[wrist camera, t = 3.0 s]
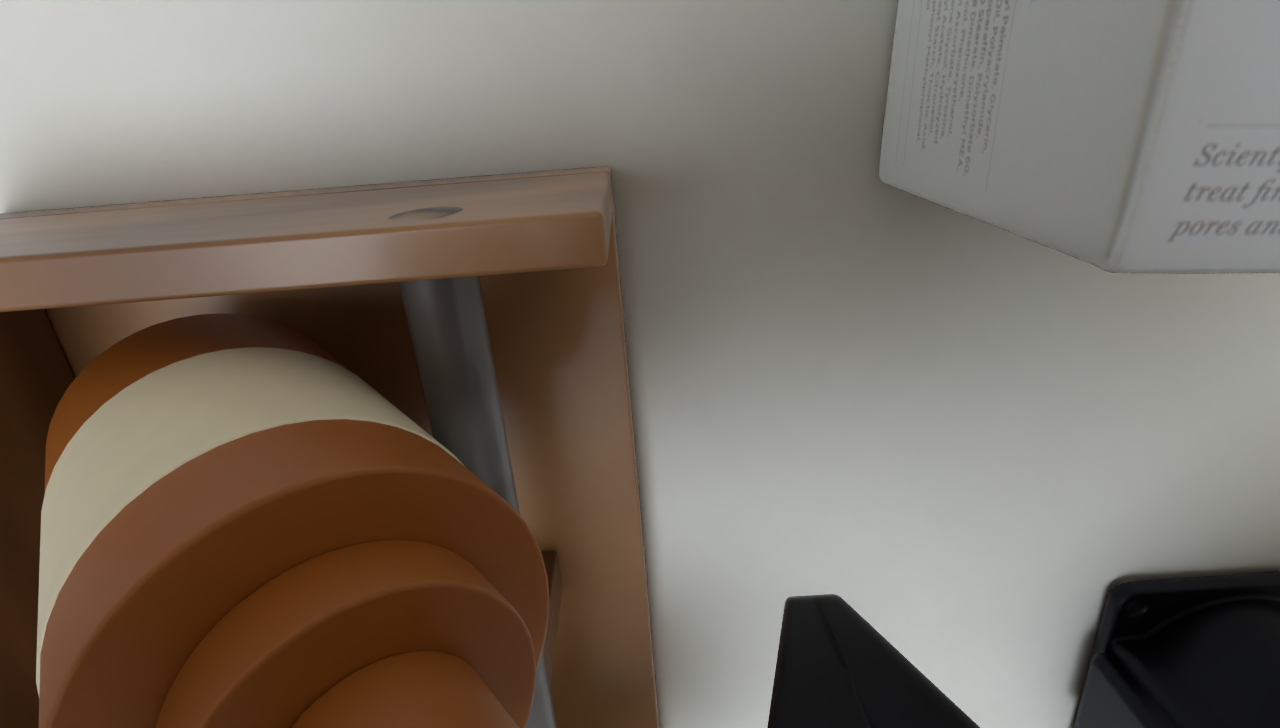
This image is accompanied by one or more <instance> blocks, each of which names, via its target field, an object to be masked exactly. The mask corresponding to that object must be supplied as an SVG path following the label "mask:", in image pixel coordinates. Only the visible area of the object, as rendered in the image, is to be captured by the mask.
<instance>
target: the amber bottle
mask: <svg viewBox="0 0 1280 728" xmlns="http://www.w3.org/2000/svg"><path fill="white" fill-rule="evenodd" d="M548 617H549V588H548V577H547V573H546V569H545V564H544V560H543V556H542V553H541V551H540V549H539V546H538V544H537V541H536V539H535V536H534V535H533V533H532V532H531V530H530V528H529V527H528V525H527V524H526V522H525V520H524V519H523V518H522V517H521V516H520V515H519V514H518V512H517V511H516V510H515V509H514V508H513V507H512V506H511V505H510V504H509V503H508V502H507V501H506V500H504V499H503V498H502V497H501V496H500V495H498V494H497V493H496V492H495V491H494V490H492V489H491V488H490V487H489V486H488V485H486V484H485V483H484V482H483V481H482V480H480V479H479V478H478V477H477V476H476V475H474V474H473V473H472V472H471V471H470V470H468V469H467V468H466V467H465V466H464V465H463V464H462V463H461V461H460V460H459V459H458V458H457V457H456V456H455V455H454V454H452V453H451V452H450V451H449V450H448V449H446V448H445V447H444V446H443V445H441V444H440V443H439V442H438V441H437V440H435V439H434V438H433V437H432V436H431V435H429V434H428V433H427V432H426V431H424V430H423V429H422V428H421V427H420V426H418V425H417V424H416V423H415V422H414V421H412V420H411V419H410V418H409V417H407V416H406V415H405V414H404V413H403V412H401V411H400V410H399V409H398V408H396V407H395V406H394V405H393V404H392V403H390V402H389V401H388V400H387V399H386V398H384V397H383V396H382V395H381V394H379V393H378V392H377V391H376V390H375V389H373V388H372V387H371V386H370V385H368V384H367V383H366V382H365V381H363V380H362V379H361V378H360V377H358V376H357V375H356V374H354V373H352V372H350V371H349V370H348V369H347V368H345V367H344V366H343V365H342V364H340V363H339V362H338V361H337V360H336V359H334V358H333V357H332V356H331V355H330V354H328V353H327V352H326V351H325V350H324V349H322V348H321V347H320V346H319V345H317V344H316V343H315V342H313V341H312V340H311V339H309V338H308V337H306V336H304V335H303V334H301V333H299V332H297V331H296V330H293V329H291V328H289V327H286V326H284V325H282V324H280V323H276V322H273V321H270V320H266V319H263V318H259V317H253V316H247V315H241V314H223V313H217V314H199V315H193V316H187V317H181V318H176V319H172V320H169V321H165V322H162V323H158V324H155V325H152V326H150V327H147V328H145V329H143V330H140V331H138V332H135V333H133V334H131V335H130V336H128V337H126V338H124V339H122V340H121V341H119V342H117V343H115V344H114V345H112V346H111V347H110V348H108V349H107V350H105V351H104V352H103V353H101V354H100V355H98V356H97V357H96V358H95V359H94V360H93V361H92V362H91V363H90V364H88V365H87V366H86V367H85V368H84V369H83V370H82V371H81V372H80V373H79V375H78V376H77V377H76V378H75V379H74V381H73V382H72V383H71V384H70V386H69V387H68V388H67V390H66V391H65V393H64V395H63V397H62V398H61V400H60V402H59V403H58V405H57V407H56V410H55V412H54V415H53V417H52V420H51V422H50V426H49V430H48V435H47V440H46V457H45V495H44V500H43V505H42V510H41V534H40V564H39V595H38V625H37V657H36V684H37V690H38V695H39V728H525V726H526V723H527V721H528V717H529V714H530V710H531V707H532V703H533V698H534V692H535V686H536V669H537V667H538V664H539V660H540V657H541V653H542V650H543V646H544V643H545V637H546V631H547V625H548Z"/></svg>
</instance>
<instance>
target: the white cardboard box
mask: <svg viewBox="0 0 1280 728" xmlns="http://www.w3.org/2000/svg"><path fill="white" fill-rule="evenodd" d="M879 177H880V180H881V181H882V182H884V183H886V184H888V185H891V186H893V187H896V188H898V189H901V190H904V191H906V192H909V193H911V194H914V195H916V196H918V197H921V198H923V199H926V200H929V201H931V202H934V203H936V204H939V205H942V206H944V207H947V208H949V209H952V210H955V211H957V212H959V213H962V214H965V215H967V216H970V217H973V218H975V219H978V220H980V221H983V222H986V223H988V224H991V225H993V226H996V227H999V228H1001V229H1004V230H1006V231H1008V232H1011V233H1013V234H1016V235H1019V236H1021V237H1024V238H1026V239H1029V240H1032V241H1034V242H1037V243H1039V244H1041V245H1044V246H1046V247H1049V248H1052V249H1055V250H1058V251H1061V252H1063V253H1065V254H1068V255H1070V256H1073V257H1075V258H1077V259H1080V260H1083V261H1085V262H1088V263H1091V264H1093V265H1095V266H1097V267H1099V268H1101V269H1103V270H1105V271H1108V272H1112V273H1169V274H1206V273H1280V0H898V9H897V17H896V24H895V33H894V41H893V49H892V57H891V66H890V76H889V84H888V95H887V101H886V111H885V119H884V126H883V134H882V146H881V154H880V166H879Z"/></svg>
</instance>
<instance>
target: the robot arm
mask: <svg viewBox="0 0 1280 728" xmlns="http://www.w3.org/2000/svg"><path fill="white" fill-rule="evenodd" d="M768 728H980V727H979V726H978V725H977V724H976V723H974V722H973V721H972V720H971V719H970V718H969V717H968V716H967V715H966V714H965V713H964V712H963V711H962V710H961V709H960V708H958V707H957V706H956V705H955V704H954V703H953V702H952V701H951V700H950V699H949V698H948V697H947V696H946V695H945V694H944V693H942V692H941V691H940V690H939V689H938V688H937V687H936V686H935V685H934V684H933V683H932V682H931V681H930V680H929V679H927V678H926V677H925V676H924V675H923V674H922V673H921V672H920V671H919V670H918V669H917V668H916V667H915V666H914V665H913V664H911V663H910V662H909V661H908V660H907V659H906V658H905V657H904V656H903V655H902V654H901V653H900V652H899V651H898V650H897V649H895V648H894V647H893V646H892V645H891V644H890V643H889V642H888V641H887V640H886V639H885V638H884V637H883V636H882V635H881V634H879V633H878V632H877V631H876V630H875V629H874V628H873V627H872V626H871V625H870V624H869V623H868V622H867V621H866V620H864V619H863V618H862V617H861V616H860V615H859V614H858V613H857V612H856V611H855V610H854V609H853V608H852V607H851V606H850V605H848V604H847V603H846V602H845V601H844V600H843V599H842V598H841V597H839V596H837V595H834V594H828V595H812V596H796V597H789V598H787V600H786V602H785V607H784V614H783V621H782V629H781V636H780V643H779V650H778V657H777V664H776V671H775V678H774V686H773V693H772V700H771V707H770V714H769V721H768ZM1073 728H1280V572H1265V573H1251V574H1237V575H1222V576H1208V577H1194V578H1179V579H1165V580H1151V581H1137V582H1127V583H1122V584H1120V585H1118V586H1116V587H1115V588H1114V589H1113V590H1111V591H1110V592H1109V594H1108V596H1107V599H1106V603H1105V606H1104V610H1103V614H1102V618H1101V622H1100V626H1099V630H1098V634H1097V638H1096V642H1095V645H1094V649H1093V653H1092V657H1091V661H1090V665H1089V669H1088V673H1087V677H1086V681H1085V685H1084V688H1083V692H1082V696H1081V700H1080V704H1079V708H1078V712H1077V716H1076V720H1075V724H1074V727H1073Z"/></svg>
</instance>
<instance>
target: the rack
mask: <svg viewBox="0 0 1280 728" xmlns="http://www.w3.org/2000/svg"><path fill="white" fill-rule="evenodd" d="M217 313H223V314H241V315H247V316H253V317H259V318H263V319H266V320H270V321H273V322H276V323H280V324H282V325H284V326H286V327H289V328H291V329H293V330H296V331H297V332H299V333H301V334H303V335H304V336H306V337H308V338H309V339H311V340H312V341H313V342H315V343H316V344H317V345H319V346H320V347H321V348H322V349H324V350H325V351H326V352H327V353H328V354H330V355H331V356H332V357H333V358H334V359H336V360H337V361H338V362H339V363H340V364H342V365H343V366H344V367H345V368H347V369H348V370H349V371H350V372H352V373H354V374H356V375H357V376H358V377H360V378H361V379H362V380H363V381H365V382H366V383H367V384H368V385H370V386H371V387H372V388H373V389H375V390H376V391H377V392H378V393H379V394H381V395H382V396H383V397H384V398H386V399H387V400H388V401H389V402H390V403H392V404H393V405H394V406H395V407H396V408H398V409H399V410H400V411H401V412H403V413H404V414H405V415H406V416H407V417H409V418H410V419H411V420H412V421H414V422H415V423H416V424H417V425H418V426H420V427H421V428H422V429H423V430H424V431H426V432H427V433H428V434H429V435H431V436H432V437H433V438H434V439H435V440H437V441H438V442H439V443H440V444H441V445H443V446H444V447H445V448H446V449H448V450H449V451H450V452H451V453H452V454H454V455H455V456H456V457H457V458H458V459H459V460H460V461H461V463H462V464H463V465H464V466H465V467H466V468H467V469H468V470H470V471H471V472H472V473H473V474H474V475H476V476H477V477H478V478H479V479H480V480H482V481H483V482H484V483H485V484H486V485H488V486H489V487H490V488H491V489H492V490H494V491H495V492H496V493H497V494H498V495H500V496H501V497H502V498H503V499H504V500H506V501H507V502H508V503H509V504H510V505H511V506H512V507H513V508H514V509H515V510H516V511H517V512H518V514H519V515H520V516H521V517H522V518H523V519H524V520H525V522H526V524H527V525H528V527H529V528H530V530H531V532H532V533H533V535H534V536H535V539H536V541H537V544H538V546H539V549H540V551H541V553H542V556H543V560H544V564H545V569H546V573H547V577H548V588H549V617H548V625H547V631H546V637H545V643H544V646H543V650H542V653H541V657H540V660H539V664H538V667H537V669H536V686H535V692H534V698H533V703H532V707H531V710H530V714H529V717H528V721H527V723H526V726H525V728H660V726H659V715H658V703H657V692H656V680H655V669H654V658H653V646H652V635H651V624H650V612H649V601H648V589H647V578H646V567H645V555H644V544H643V533H642V521H641V510H640V498H639V487H638V476H637V464H636V453H635V442H634V430H633V419H632V407H631V396H630V385H629V373H628V362H627V351H626V339H625V328H624V316H623V305H622V294H621V282H620V271H619V260H618V248H617V237H616V225H615V214H614V203H613V191H612V180H611V169H610V167H608V166H604V167H591V168H578V169H565V170H552V171H540V172H527V173H514V174H501V175H489V176H476V177H463V178H450V179H437V180H425V181H412V182H399V183H386V184H374V185H361V186H348V187H335V188H323V189H310V190H297V191H284V192H271V193H259V194H246V195H233V196H220V197H208V198H195V199H182V200H169V201H156V202H144V203H131V204H118V205H105V206H93V207H80V208H67V209H54V210H42V211H29V212H16V213H3V214H0V728H39V695H38V690H37V684H36V657H37V625H38V595H39V564H40V534H41V510H42V505H43V500H44V495H45V457H46V440H47V435H48V430H49V426H50V422H51V420H52V417H53V415H54V412H55V410H56V407H57V405H58V403H59V402H60V400H61V398H62V397H63V395H64V393H65V391H66V390H67V388H68V387H69V386H70V384H71V383H72V382H73V381H74V379H75V378H76V377H77V376H78V375H79V373H80V372H81V371H82V370H83V369H84V368H85V367H86V366H87V365H88V364H90V363H91V362H92V361H93V360H94V359H95V358H96V357H97V356H98V355H100V354H101V353H103V352H104V351H105V350H107V349H108V348H110V347H111V346H112V345H114V344H115V343H117V342H119V341H121V340H122V339H124V338H126V337H128V336H130V335H131V334H133V333H135V332H138V331H140V330H143V329H145V328H147V327H150V326H152V325H155V324H158V323H162V322H165V321H169V320H172V319H176V318H181V317H187V316H193V315H199V314H217Z"/></svg>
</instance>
